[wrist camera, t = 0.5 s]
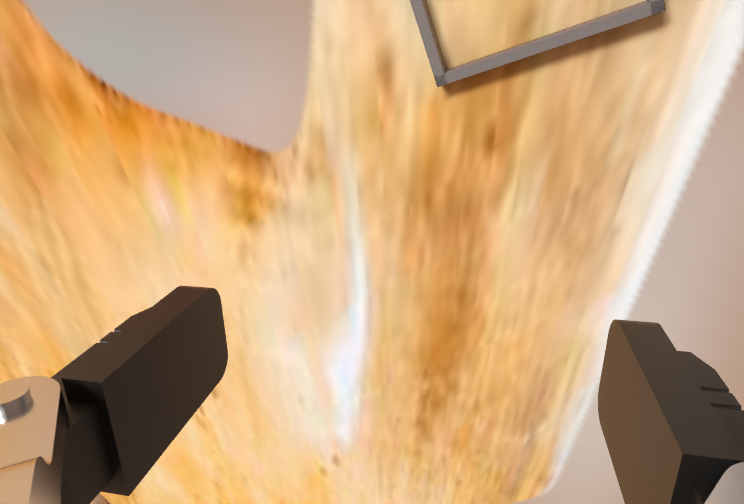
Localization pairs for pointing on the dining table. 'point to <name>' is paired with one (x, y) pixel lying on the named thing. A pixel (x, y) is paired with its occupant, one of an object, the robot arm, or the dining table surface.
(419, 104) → the dining table surface
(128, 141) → the dining table surface
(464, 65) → the frame
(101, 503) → the house plant
